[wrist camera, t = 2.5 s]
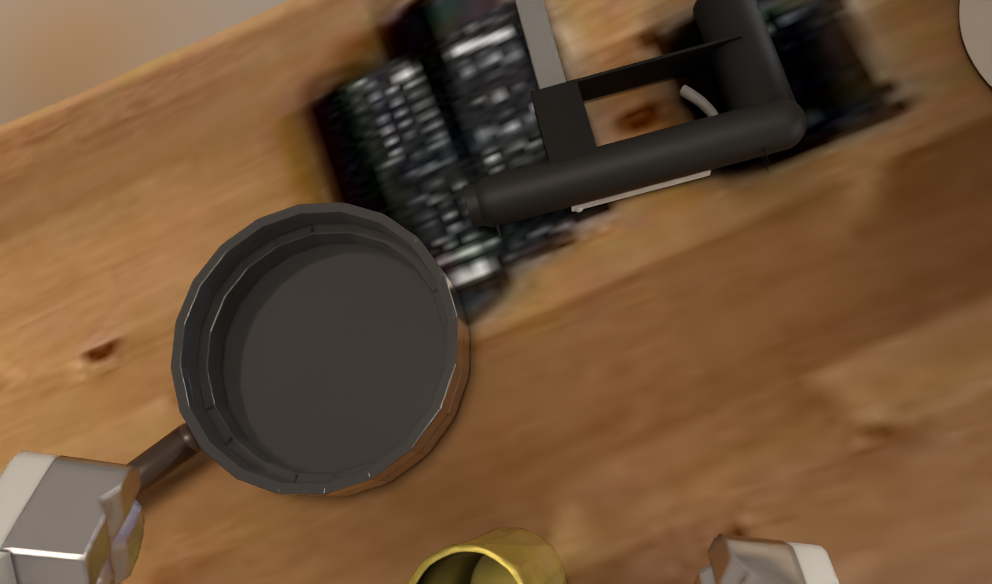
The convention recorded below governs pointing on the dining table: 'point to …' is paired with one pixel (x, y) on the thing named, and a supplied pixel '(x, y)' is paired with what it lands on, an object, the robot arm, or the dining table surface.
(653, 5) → the dining table surface
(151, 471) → the pan handle
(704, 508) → the dining table surface
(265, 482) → the pan
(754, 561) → the robot arm
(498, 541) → the vase
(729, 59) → the gun
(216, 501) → the dining table surface
